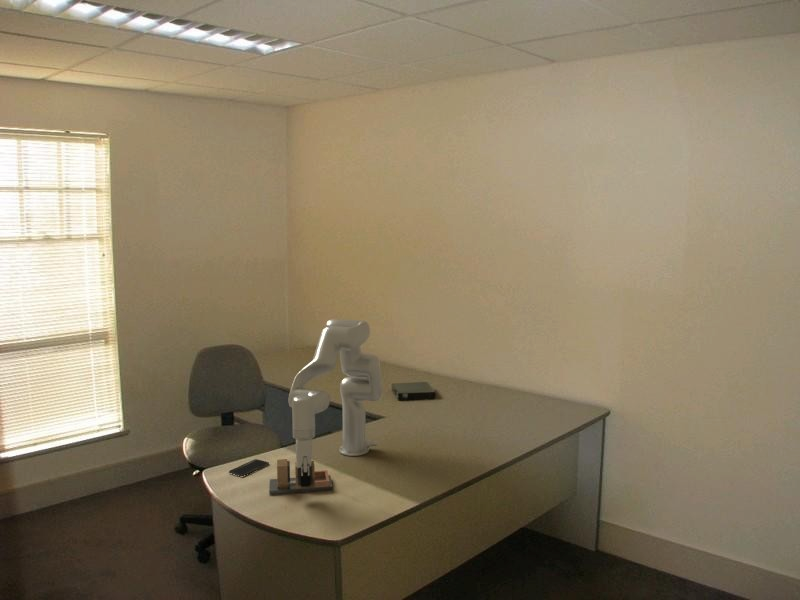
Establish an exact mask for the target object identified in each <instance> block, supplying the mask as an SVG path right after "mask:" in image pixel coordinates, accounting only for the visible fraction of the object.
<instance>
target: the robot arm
mask: <svg viewBox="0 0 800 600" xmlns="http://www.w3.org/2000/svg"><path fill="white" fill-rule="evenodd" d="M370 333H371V328H370V324H369V323H368V322H367V321H365V320H362V319H361V320H359V319H346V318H345V319H344V318H332V319H329V320H328V321H327V322H326V323H325V327H324V328H323V329H322V330H321V332H320V335H319V338H318V341H317V344H316V348H315V351H314V354H313V358H312V360H311V361H310V362H309V363H308V364H307V365H305V366H303V368H302V369H300V371H299V372H298V373H296V375H295V377H294V379H292V380H293V381H292V384H291V386H290V390H289V394H288V399H287V400H288V405H289V407H290V408H291V411H292V418H291V419H292V438H293V439H295V459H296V461H295V462H296V464H297V468H301V487H306V486H310V474H309V467H311V462H312V461H313V460H312V458H313V445H312V444H313V441H312V440H313V438H315V437H316V417H315V416H316V414H318V413H323V412H324V411H326V410H327V409H328V407H329V406H330V403H331V398H330V394H329V393H328V391H326V390H322V389H315V388H314V389H312V388H305V386H306V384H307V383H309V381H311V380H314V378H317V377H319V376H323V375H324V374H327V373H330V372H332V371H333V370H334V369H335V368H336V366H337V365H336V364H337V361H338V357H339V360H340V368H341V371H342V373H343V375H345V376H346V377H344V378H343V379H342V380H341V381H340V384H339V392H340V396H341V397H340V398H341V404H342V406H341V407H342V445H340V446H339V448H338V452H339V453H340V454H341V455H344V456H349V457H355V456H356V457H357V456H358V457H359V456H363V455H366V454H367V453H369V451H370V447H377V446H378V442H377V441H374V440H368V439H366V408H365V404H364V403H363V402H362V401H364V402H378V401H379V400H380V399H381V398H382V395H383V379H382V378H383V377H382V368H381V360H380V359H379V356H377V355H376V354H372V353H363V352H362V350H361V346H362V345H364V344H365V343H366V342H367V341H368V339H369V337H370ZM302 465H303V466H302ZM307 465H308V466H307ZM307 468H308V470H307ZM303 469H304V470H303Z"/></svg>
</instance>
